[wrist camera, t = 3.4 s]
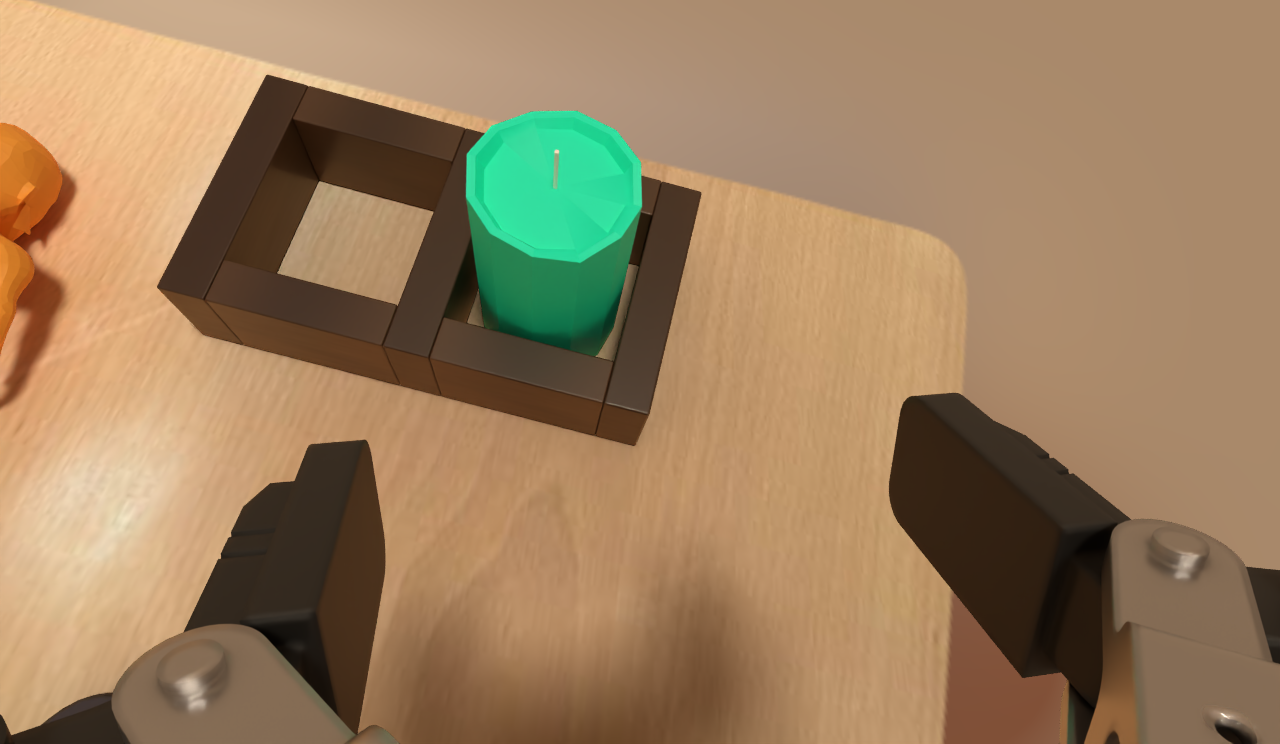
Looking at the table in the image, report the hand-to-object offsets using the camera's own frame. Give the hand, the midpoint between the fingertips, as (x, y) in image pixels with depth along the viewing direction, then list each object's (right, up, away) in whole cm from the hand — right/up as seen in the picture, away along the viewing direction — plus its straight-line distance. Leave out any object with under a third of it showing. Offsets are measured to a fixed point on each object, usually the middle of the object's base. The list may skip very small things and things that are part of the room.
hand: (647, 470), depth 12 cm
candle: (-4, +4, +25) cm, 25 cm away
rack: (-8, +5, +24) cm, 26 cm away
